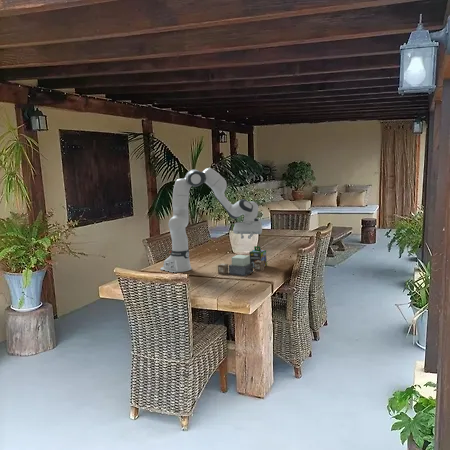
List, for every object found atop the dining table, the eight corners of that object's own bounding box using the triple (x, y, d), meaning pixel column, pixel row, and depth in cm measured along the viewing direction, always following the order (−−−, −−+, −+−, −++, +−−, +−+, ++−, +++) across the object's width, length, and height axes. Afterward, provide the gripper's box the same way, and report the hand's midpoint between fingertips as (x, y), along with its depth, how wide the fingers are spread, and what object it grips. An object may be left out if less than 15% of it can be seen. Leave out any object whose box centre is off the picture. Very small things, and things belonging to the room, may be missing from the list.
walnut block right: (254, 271, 297) (253, 261, 296) (257, 269, 301) (257, 260, 301) (260, 271, 294) (260, 262, 293) (264, 269, 299) (263, 260, 298)
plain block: (231, 269, 291) (231, 257, 289) (238, 266, 298) (237, 254, 297) (243, 270, 286) (243, 258, 285) (250, 267, 294) (249, 255, 293)
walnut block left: (217, 274, 293) (217, 264, 292) (222, 272, 297) (221, 263, 296) (224, 274, 290) (224, 265, 289) (228, 272, 295) (228, 263, 294)
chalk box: (267, 265, 310) (266, 245, 308) (261, 268, 302) (260, 247, 300) (255, 264, 314) (254, 244, 312) (249, 267, 307) (248, 246, 305)
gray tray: (229, 274, 291) (228, 265, 290) (237, 270, 301) (237, 261, 300) (245, 276, 285) (244, 267, 284) (253, 271, 295) (252, 263, 294)
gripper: (234, 219, 310) (230, 235, 302) (262, 219, 302) (258, 235, 295) (236, 224, 314) (232, 240, 307) (264, 224, 307) (260, 241, 300)
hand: (245, 238), depth 301 cm, fingers open, 4 cm apart
